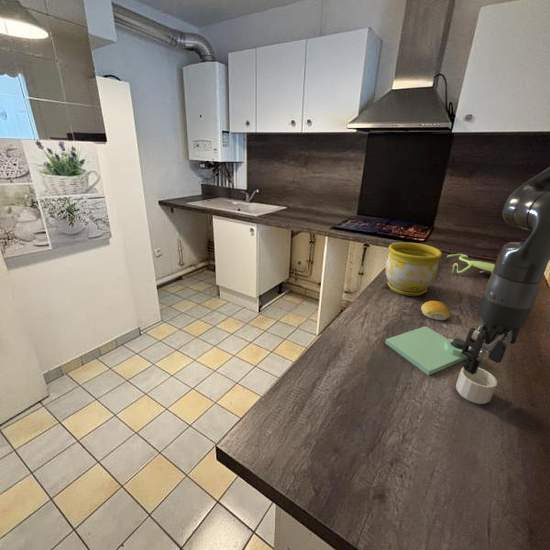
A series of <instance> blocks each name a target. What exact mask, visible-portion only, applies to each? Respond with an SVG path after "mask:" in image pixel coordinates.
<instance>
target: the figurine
mask: <svg viewBox="0 0 550 550" xmlns="http://www.w3.org/2000/svg"><path fill="white" fill-rule="evenodd" d="M453 257H458V260H459V261H460V262H461V261H462V262H464V263H467V266H466V267H464V268H463V269H462V270H459V263H458V262H457V263H456V262H454V263H453V265H452V271H451V275H454V273H455V272H454V271H455V267H457V268H456V273H457V274H459V275H461V274H464V273H465V272H466V271H468V270H470V269H471V268H472V267H473V268H474V269H477V270H480V271H479V273H486V272H487V273H491V274H492V272H493V269H494V266H495V264H494V263H491V262H486V261H480V260H468V259H469V256H468V255H466V254H464V253H463V254H462V253H453V254H447V255H446V258H453Z"/></svg>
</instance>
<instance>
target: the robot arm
mask: <svg viewBox="0 0 550 550" xmlns="http://www.w3.org/2000/svg"><path fill="white" fill-rule="evenodd" d="M501 216H502V220H503V221H504V222H505V223H506V224H507V225H510V226H511V227H514V228H517V229H521V230H526V231H529V232H530V234H529V235H528V237H527V238H526V239H525V240H524V241H509V242H506V243H504V244H503V245H502V246H501V247H500V250H499V252H498V254H497V257H496V260H495V262H494V263H495V266H494V269H493V272H492V273H491V274H490V276H489V278H488V280H487V282H486V285H485V288H484V291H483V294H482V296H481V300H480V303H479V305H478V306H479V307H478V309H477V315H478V316H479V317H480V318H481V320H482V321H483V322H482V323H481V324H480V325H479V327H478V328H477V329H476V328H474V327H471V328H470V329H469V331H468V333H467V336H466V339H465V340H464V341H465V344H464V346H463V349H462V352H461V353H462V354H464V355H465V356H467V359H466V360H465V362H464V365H463V367H464V369H465V370H466V371H468V372H469V373H471V374H475V373H476V372H477V370H478V367H479V368H480V364H481V361H482V359H483V358H484V356H485V355H486V354H487V353H489V354H488V355H487V357H488V359H489V360H491V361H492V362H494V363H496V364H499V363H502V360H503V358H504V355H505V353H506V350H507V349H509V348H510V346H511V345H514V344H515V343H516V341H517V339H518V335H519V333H520V330H521V328H523V327H524V326H525V325H526V322H527V320H528V318H529V315H530V313H531V310H532V308H533V305H534V303H535V301H536V298H537V295H538V293H539V288H540V284H541V281H542V279H543V276H544V274H545V273H546V269H547V267H548V264H549V262H550V166H549V167H547V168H546V169H544V170H543V171H541V172H539V173H537V175H534V176H533V177H532V178H530V179H529V180H527V181H525V182H524V183H523V184H521V185H519V186H518V187H517V188H516V189H515V190H514V191H512V193H511V194H510V195H509V196H508V198H507V199H506V200H505V202H504V204H503V206H502V210H501ZM469 346H470V347H469Z"/></svg>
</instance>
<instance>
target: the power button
mask: <svg viewBox="0 0 550 550" xmlns="http://www.w3.org/2000/svg"><path fill="white" fill-rule="evenodd" d="M452 339H453V342H452V346H454V347H455V348H458V349H463V346H464V344H465V341H466V340H463V339H461V338H457V337H456V338H452Z"/></svg>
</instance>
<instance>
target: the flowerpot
mask: <svg viewBox="0 0 550 550" xmlns="http://www.w3.org/2000/svg"><path fill="white" fill-rule="evenodd" d="M388 250H389V251H388V256H387V259H386V263H385V275H386V276H385V277H386V278H387V280H388V281H387V285H388V287H389V288H390V290H392V292H394V293H397V294H399V295H403V296H408V297H418V296H421V295H423V294H425V293H426V292H428V288H429V287H430V286H431V285H433V283H434V281H435V279H436V277H437V275H438V269H439V263H440V258H441V257H442V256H443V253H442V251H441V250H440V249H438V248H437V247H434V246H431V245H429V244H428V245H427V244H423V243H419V242H418V243H417V242H410V241H409V242H403V241H402V242H394V243H391V244H390V245H389V246H388Z"/></svg>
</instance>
